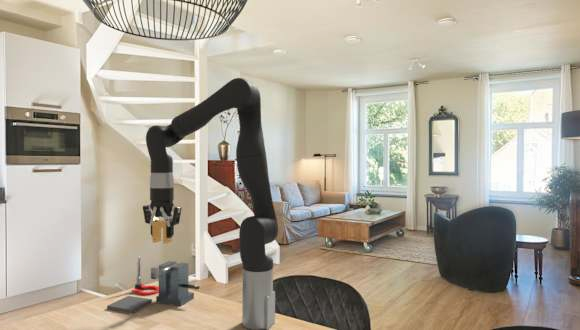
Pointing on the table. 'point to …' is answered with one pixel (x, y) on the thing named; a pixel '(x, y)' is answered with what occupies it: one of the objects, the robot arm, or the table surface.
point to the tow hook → (140, 286)
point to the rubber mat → (129, 304)
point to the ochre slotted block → (157, 231)
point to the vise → (173, 283)
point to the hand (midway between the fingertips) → (162, 236)
